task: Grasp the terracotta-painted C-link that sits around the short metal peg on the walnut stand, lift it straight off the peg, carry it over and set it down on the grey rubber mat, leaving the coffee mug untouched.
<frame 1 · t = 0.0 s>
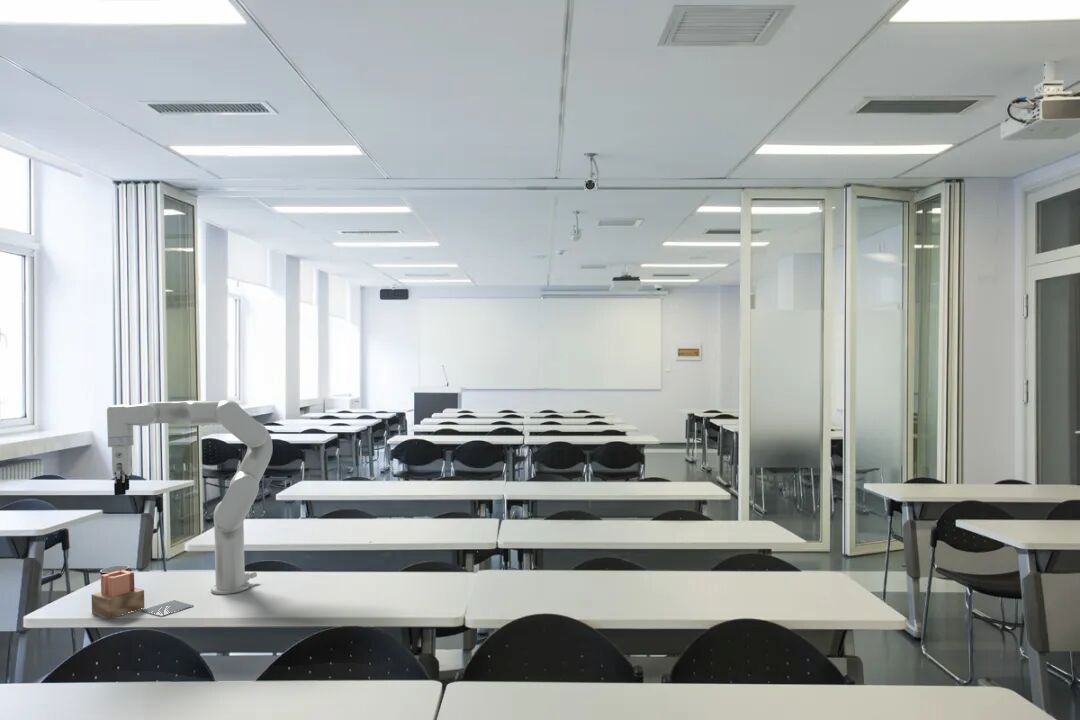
hand: (122, 492, 247), 37 cm above the table, tool pointing down, fingers open, 9 cm apart
stand: (118, 610, 240), on the table
coffee mug: (118, 597, 255), on the table
mat: (167, 608, 240), on the table
c link: (117, 592, 240), point 6 cm above the table, touching stand
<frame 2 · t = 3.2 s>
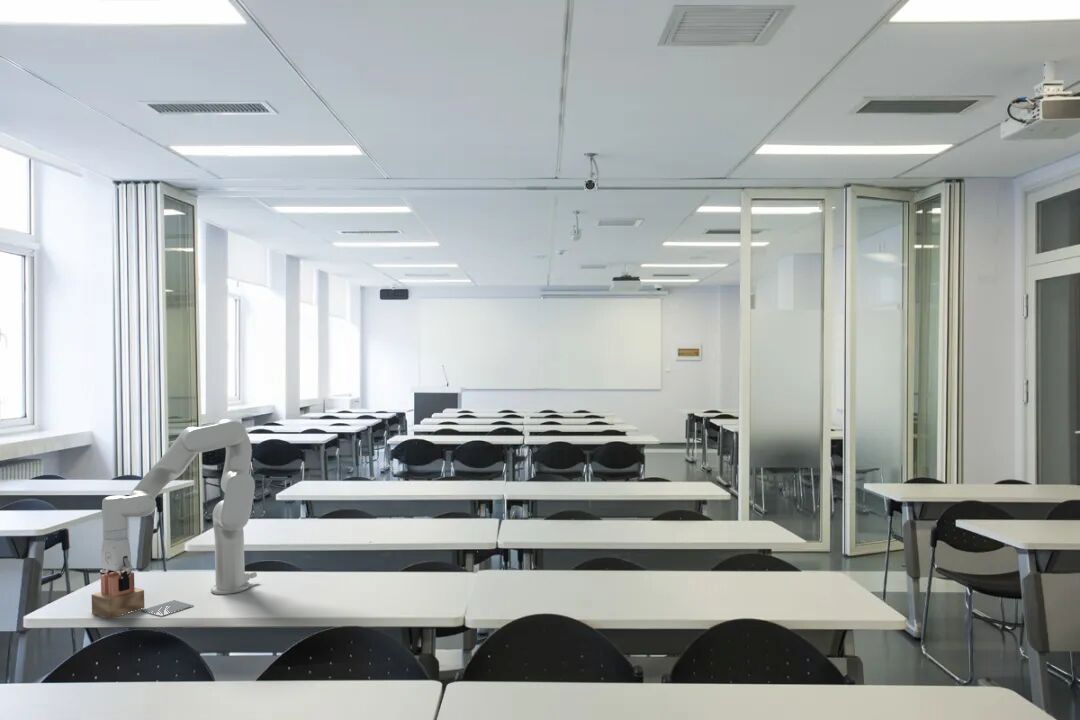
hand: (117, 588, 240), 7 cm above the table, tool pointing down, fingers closed on c link, 7 cm apart
c link: (117, 592, 240), point 6 cm above the table, touching gripper, stand
everything else where it was.
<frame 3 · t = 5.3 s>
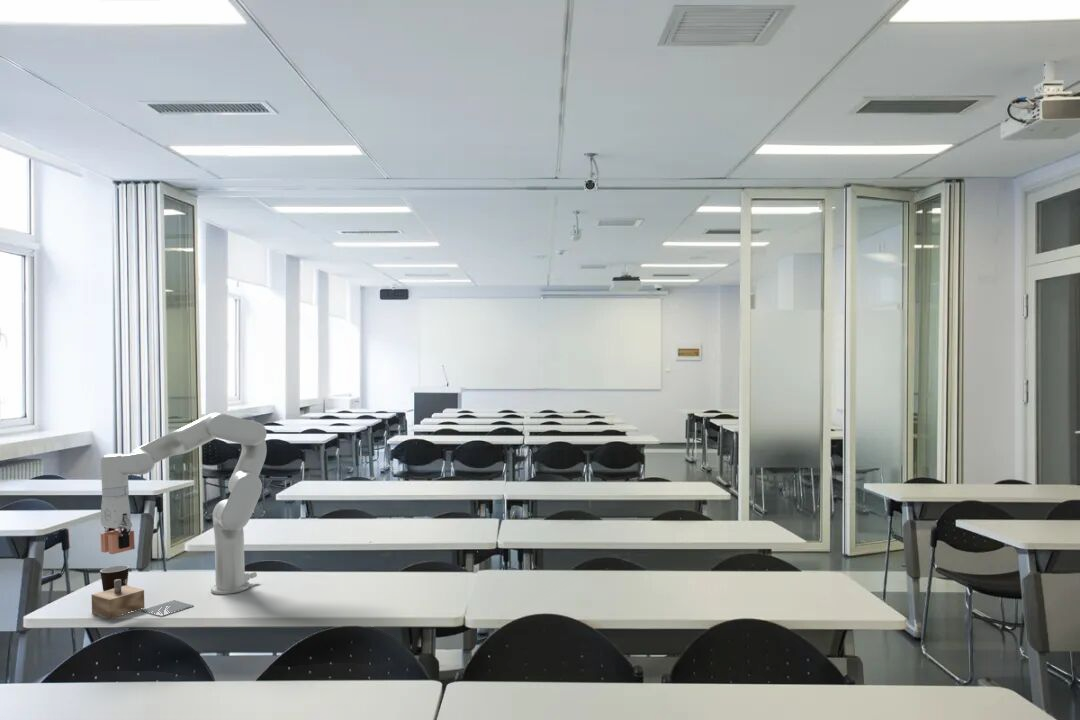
hand: (117, 545, 240), 21 cm above the table, tool pointing down, fingers closed on c link, 7 cm apart
c link: (118, 550, 240), point 20 cm above the table, touching gripper
everything else where it was.
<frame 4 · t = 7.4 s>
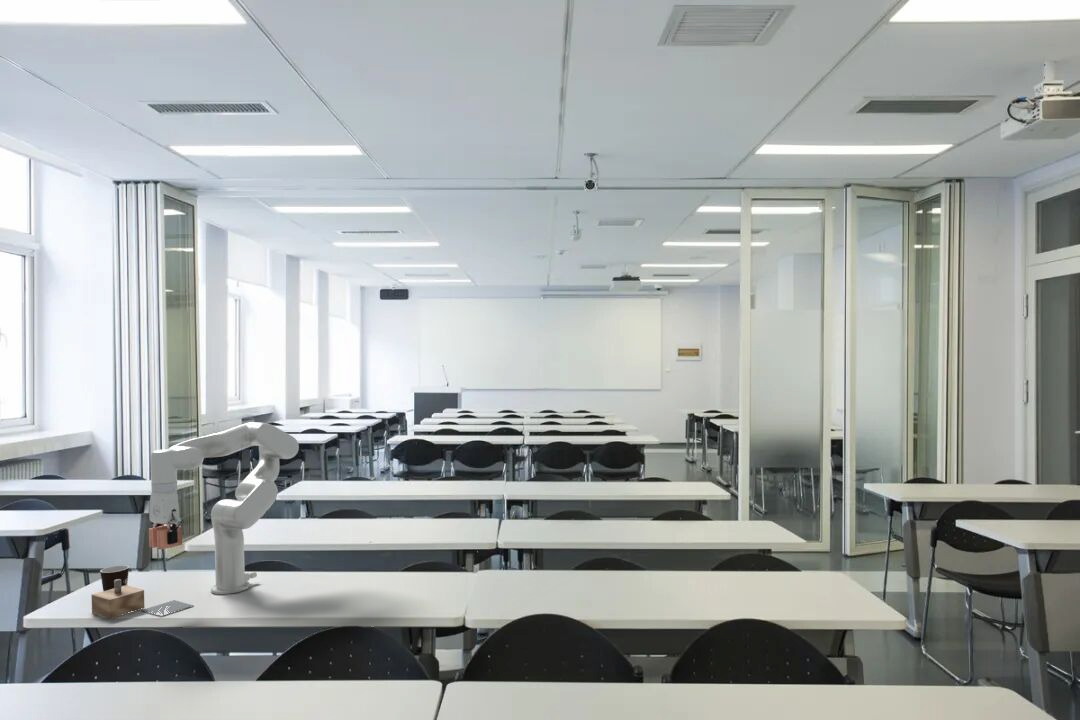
hand: (165, 541, 240), 22 cm above the table, tool pointing down, fingers closed on c link, 7 cm apart
c link: (165, 545, 240), point 21 cm above the table, touching gripper
everything else where it was.
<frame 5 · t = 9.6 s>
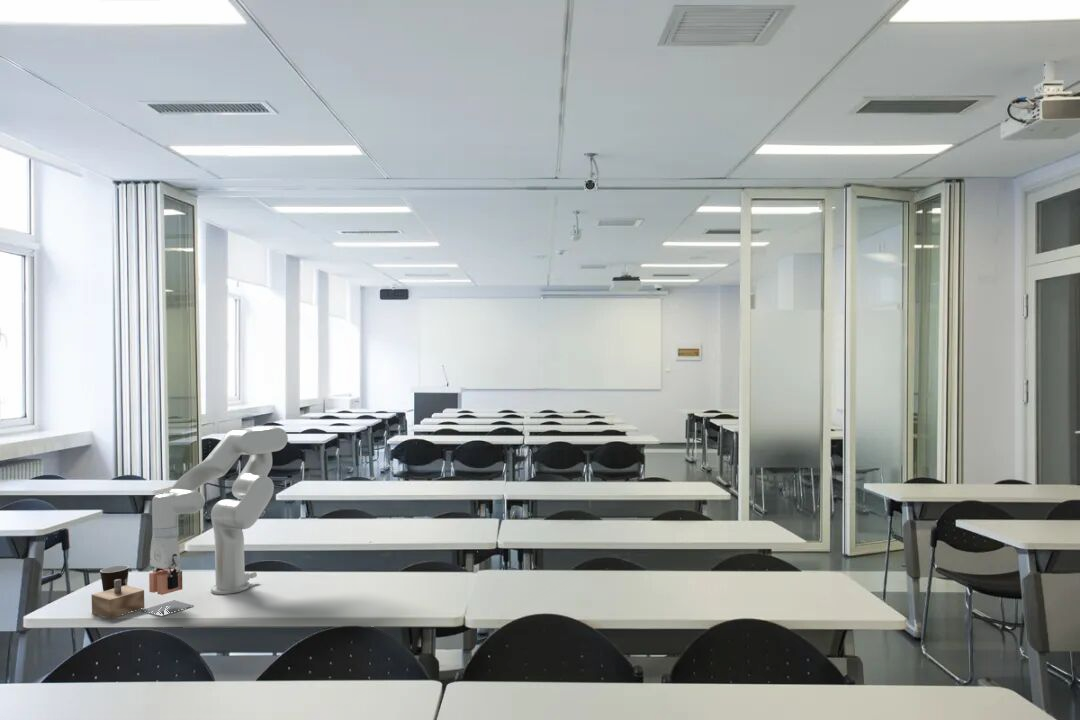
hand: (166, 586, 240), 8 cm above the table, tool pointing down, fingers closed on c link, 7 cm apart
c link: (165, 590, 240), point 6 cm above the table, touching gripper
everything else where it was.
when the fingers open (3 cm above the table, at t = 11.6 s): c link drops 1 cm, resting on mat.
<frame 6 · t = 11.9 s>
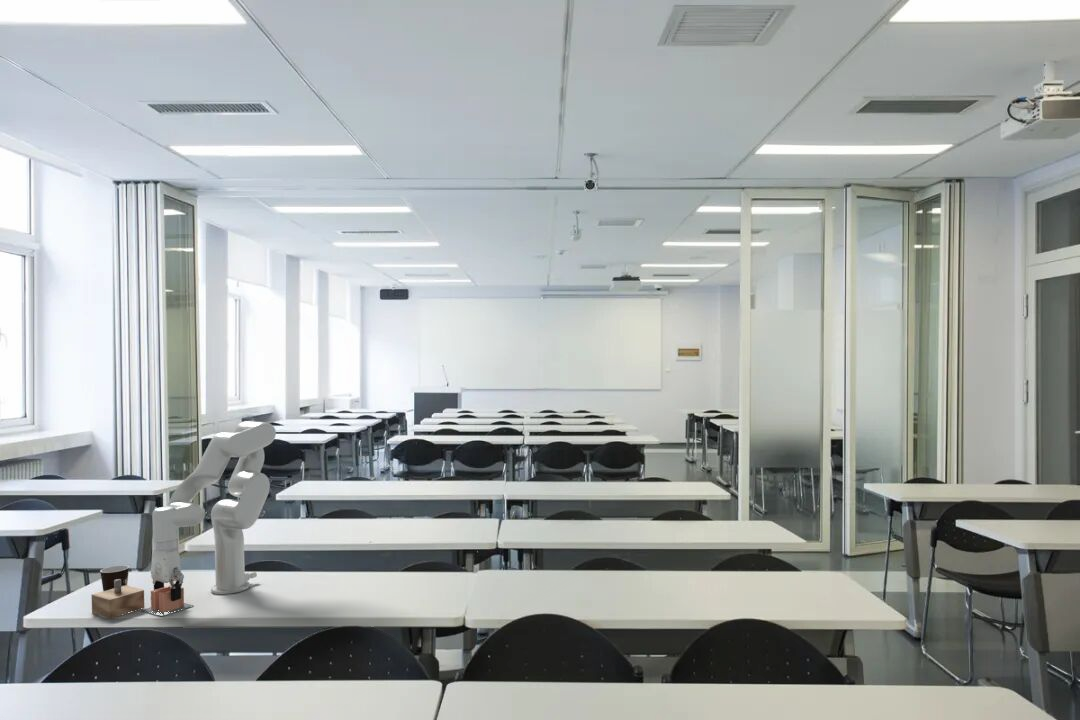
hand: (167, 597, 240), 4 cm above the table, tool pointing down, fingers open, 9 cm apart
c link: (167, 607, 240), resting on mat
everything else where it was.
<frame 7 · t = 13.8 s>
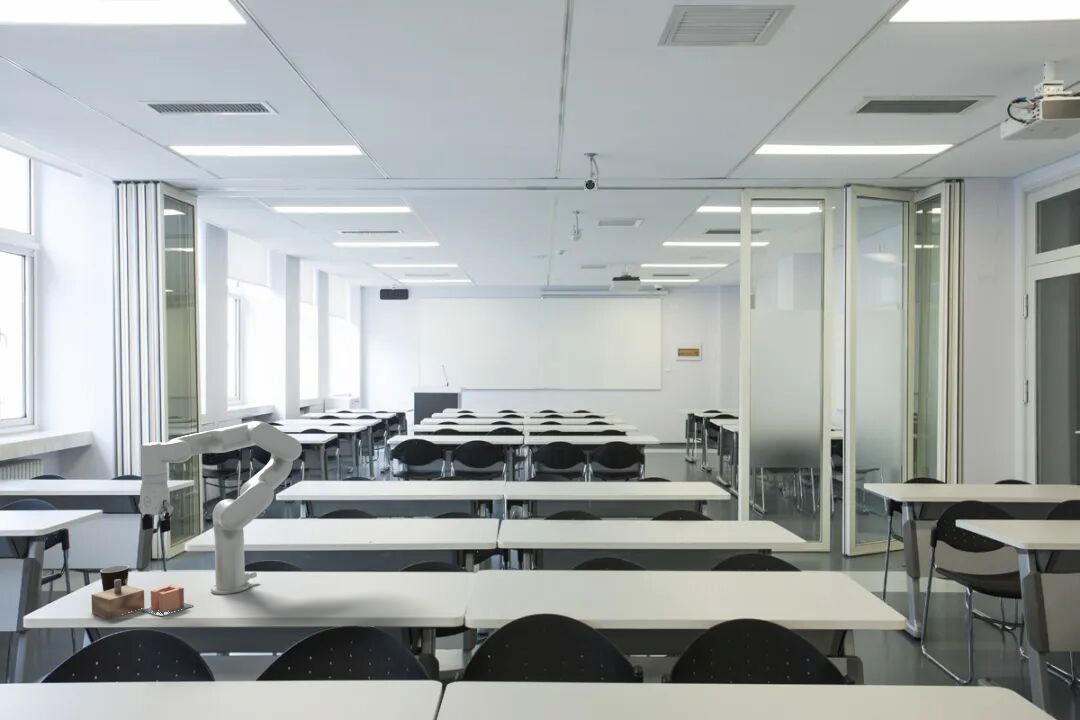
hand: (156, 530, 246), 24 cm above the table, tool pointing down, fingers open, 9 cm apart
nothing on the table moved.
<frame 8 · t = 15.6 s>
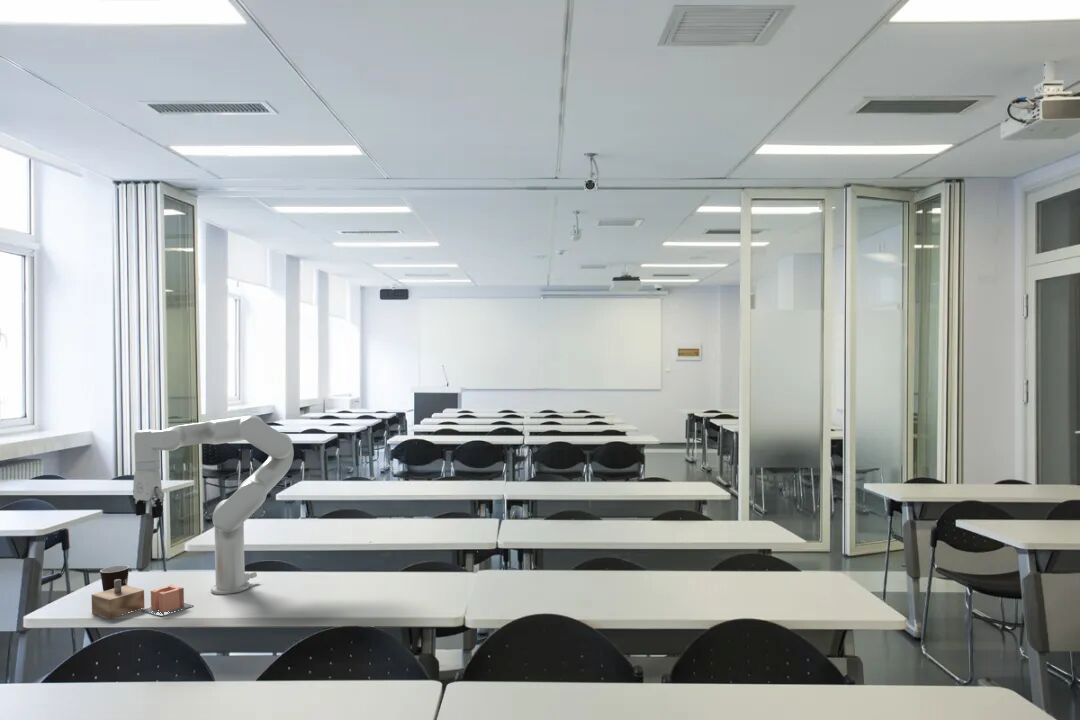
hand: (148, 516, 251), 28 cm above the table, tool pointing down, fingers open, 9 cm apart
nothing on the table moved.
at the end: c link inside the target area on the mat (0.0 cm from its centre), point 0.4 cm above the mat's base; c link resting on mat; the gripper is holding nothing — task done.
